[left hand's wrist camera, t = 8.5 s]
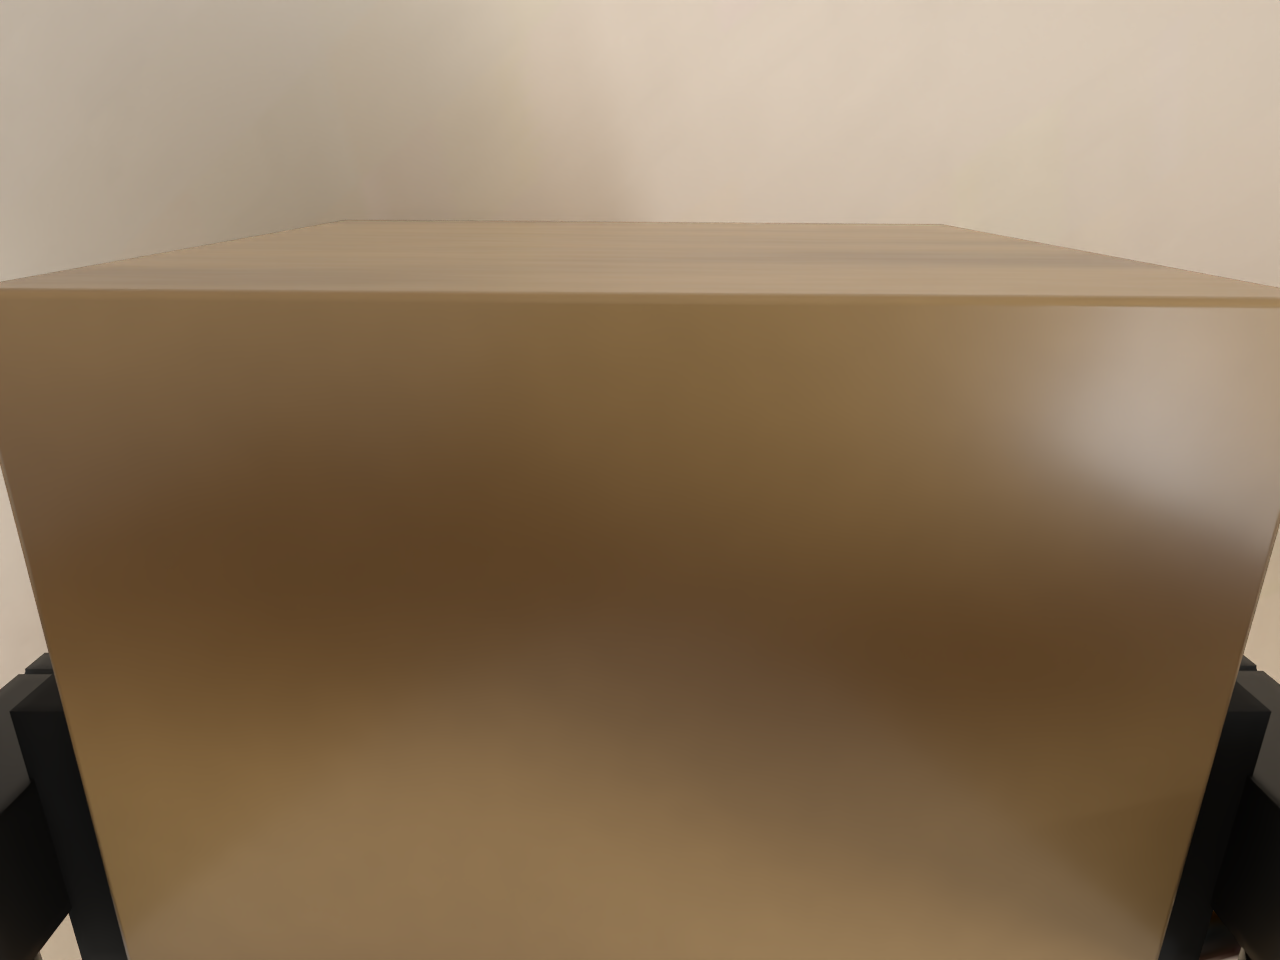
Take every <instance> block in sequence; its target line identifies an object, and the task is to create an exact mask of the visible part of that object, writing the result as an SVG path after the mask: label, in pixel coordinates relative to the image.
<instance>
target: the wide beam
mask: <svg viewBox="0 0 1280 960" xmlns="http://www.w3.org/2000/svg"><path fill="white" fill-rule="evenodd" d="M0 465H1V469H2V473H3V477H4V481H5V484H6V488H7V492H8V496H9V500H10V504H11V508H12V512H13V516H14V519H15V523H16V527H17V531H18V535H19V539H20V543H21V547H22V551H23V554H24V558H25V562H26V566H27V570H28V574H29V578H30V582H31V586H32V589H33V593H34V597H35V601H36V605H37V609H38V613H39V617H40V620H41V624H42V628H43V632H44V636H45V640H46V644H47V648H48V652H49V655H50V659H51V663H52V667H53V671H54V675H55V679H56V683H57V687H58V690H59V694H60V698H61V702H62V706H63V710H64V714H65V718H66V722H67V725H68V729H69V733H70V737H71V741H72V745H73V749H74V753H75V756H76V760H77V764H78V768H79V772H80V776H81V780H82V784H83V788H84V791H85V795H86V799H87V803H88V807H89V811H90V815H91V819H92V823H93V826H94V830H95V834H96V838H97V842H98V846H99V850H100V854H101V858H102V861H103V865H104V869H105V873H106V877H107V881H108V885H109V889H110V892H111V896H112V900H113V904H114V908H115V912H116V916H117V920H118V924H119V927H120V931H121V935H122V939H123V943H124V947H125V951H126V955H127V959H128V960H1158V958H1159V954H1160V950H1161V947H1162V943H1163V940H1164V936H1165V933H1166V929H1167V925H1168V922H1169V918H1170V915H1171V911H1172V907H1173V904H1174V900H1175V897H1176V893H1177V890H1178V886H1179V882H1180V879H1181V875H1182V872H1183V868H1184V864H1185V861H1186V857H1187V854H1188V850H1189V847H1190V843H1191V839H1192V836H1193V832H1194V829H1195V825H1196V822H1197V818H1198V814H1199V811H1200V807H1201V804H1202V800H1203V796H1204V793H1205V789H1206V786H1207V782H1208V779H1209V775H1210V771H1211V768H1212V764H1213V761H1214V757H1215V753H1216V750H1217V746H1218V743H1219V739H1220V736H1221V732H1222V728H1223V725H1224V721H1225V718H1226V714H1227V711H1228V707H1229V703H1230V700H1231V696H1232V693H1233V689H1234V685H1235V682H1236V678H1237V675H1238V671H1239V668H1240V664H1241V660H1242V657H1243V653H1244V650H1245V646H1246V642H1247V639H1248V635H1249V632H1250V628H1251V625H1252V621H1253V617H1254V614H1255V610H1256V607H1257V603H1258V600H1259V596H1260V592H1261V589H1262V585H1263V582H1264V578H1265V574H1266V571H1267V567H1268V564H1269V560H1270V557H1271V553H1272V549H1273V546H1274V542H1275V539H1276V535H1277V532H1278V528H1279V524H1280V288H1277V287H1272V286H1266V285H1261V284H1256V283H1250V282H1245V281H1240V280H1235V279H1229V278H1224V277H1219V276H1213V275H1208V274H1203V273H1197V272H1192V271H1187V270H1181V269H1176V268H1171V267H1165V266H1160V265H1155V264H1150V263H1144V262H1139V261H1134V260H1128V259H1123V258H1118V257H1112V256H1107V255H1102V254H1096V253H1091V252H1086V251H1081V250H1075V249H1070V248H1065V247H1059V246H1054V245H1049V244H1043V243H1038V242H1033V241H1027V240H1022V239H1017V238H1011V237H1006V236H1001V235H996V234H990V233H985V232H980V231H974V230H969V229H964V228H958V227H953V226H948V225H942V224H828V223H692V222H556V221H421V220H343V221H337V222H332V223H326V224H321V225H315V226H309V227H304V228H298V229H293V230H287V231H282V232H276V233H270V234H265V235H259V236H254V237H248V238H243V239H237V240H231V241H226V242H220V243H215V244H209V245H204V246H198V247H192V248H187V249H181V250H176V251H170V252H164V253H159V254H153V255H148V256H142V257H137V258H131V259H125V260H120V261H114V262H109V263H103V264H98V265H92V266H86V267H81V268H75V269H70V270H64V271H59V272H53V273H47V274H42V275H36V276H31V277H25V278H19V279H14V280H8V281H3V282H0Z"/></svg>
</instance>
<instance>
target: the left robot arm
mask: <svg viewBox="0 0 1280 960" xmlns="http://www.w3.org/2000/svg"><path fill="white" fill-rule="evenodd" d="M1213 910H1214V911H1215V913H1216V914H1217V915H1218V917H1219V918H1220V919H1221V920H1222V922H1223V923H1224V924H1225V926H1226V927H1227V928H1228V930H1229V931H1230V932H1231V933H1232V935H1233V936H1234V937H1235V939H1236V940H1237V941H1238V943H1239V944H1240V945H1241V946H1242V948H1241V951H1240V954H1239V957H1238V960H1280V684H1278V683H1277V682H1276V681H1275V680H1273V679H1272V678H1271V677H1270V676H1269V675H1267V674H1266V673H1265V672H1264V671H1257V669H1256V665H1255V664H1254V663H1253V662H1251V661H1250V660H1249V659H1248V658H1246V657H1245V656H1244V655H1243V657H1242V660H1241V664H1240V668H1239V671H1238V675H1237V678H1236V682H1235V685H1234V689H1233V693H1232V696H1231V700H1230V703H1229V707H1228V711H1227V714H1226V718H1225V721H1224V725H1223V728H1222V732H1221V736H1220V739H1219V743H1218V746H1217V750H1216V753H1215V757H1214V761H1213V764H1212V768H1211V771H1210V775H1209V779H1208V782H1207V786H1206V789H1205V793H1204V796H1203V800H1202V804H1201V807H1200V811H1199V814H1198V818H1197V822H1196V825H1195V829H1194V832H1193V836H1192V839H1191V843H1190V847H1189V850H1188V854H1187V857H1186V861H1185V864H1184V868H1183V872H1182V875H1181V879H1180V882H1179V886H1178V890H1177V893H1176V897H1175V900H1174V904H1173V907H1172V911H1171V915H1170V918H1169V922H1168V925H1167V929H1166V933H1165V936H1164V940H1163V943H1162V947H1161V950H1160V954H1159V958H1158V960H1199V956H1200V953H1201V949H1202V946H1203V943H1204V939H1205V936H1206V932H1207V929H1208V926H1209V922H1210V919H1211V915H1212V912H1213ZM68 913H69V916H70V919H71V923H72V926H73V930H74V933H75V936H76V940H77V943H78V947H79V950H80V953H81V957H82V960H128V959H127V955H126V951H125V947H124V943H123V939H122V935H121V931H120V927H119V924H118V920H117V916H116V912H115V908H114V904H113V900H112V896H111V892H110V889H109V885H108V881H107V877H106V873H105V869H104V865H103V861H102V858H101V854H100V850H99V846H98V842H97V838H96V834H95V830H94V826H93V823H92V819H91V815H90V811H89V807H88V803H87V799H86V795H85V791H84V788H83V784H82V780H81V776H80V772H79V768H78V764H77V760H76V756H75V753H74V749H73V745H72V741H71V737H70V733H69V729H68V725H67V722H66V718H65V714H64V710H63V706H62V702H61V698H60V694H59V690H58V687H57V683H56V679H55V675H54V671H53V667H52V663H51V659H50V655H49V653H44V654H43V655H42V656H40V657H39V658H38V659H37V660H36V661H34V662H33V663H32V664H31V665H29V666H28V667H27V668H26V669H25V674H19V675H17V676H16V677H15V678H14V679H12V680H11V681H10V682H9V683H8V684H6V685H5V686H4V687H3V688H1V689H0V960H42V957H41V954H40V950H41V949H42V947H43V946H44V945H45V943H46V942H47V941H48V939H49V938H50V937H51V935H52V934H53V933H54V931H55V930H56V929H57V928H58V926H59V925H60V924H61V922H62V921H63V920H64V918H65V917H66V916H67V914H68Z"/></svg>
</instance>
